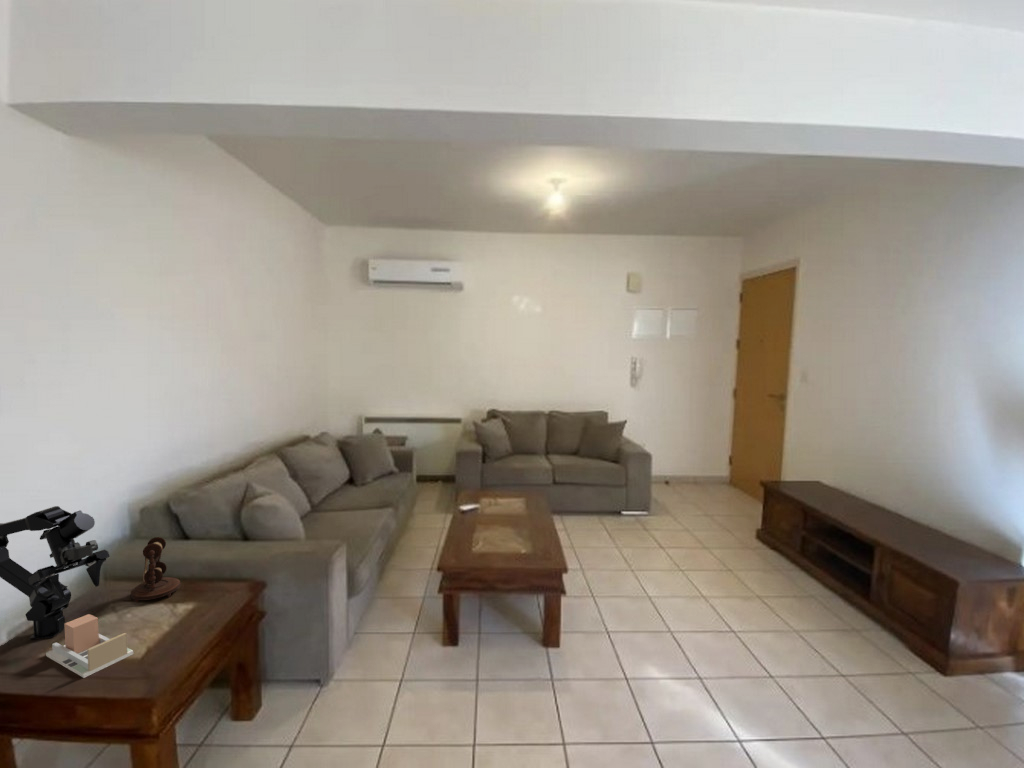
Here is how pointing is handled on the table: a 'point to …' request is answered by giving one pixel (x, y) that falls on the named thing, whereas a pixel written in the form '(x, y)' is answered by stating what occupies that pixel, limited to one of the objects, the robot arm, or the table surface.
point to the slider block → (81, 633)
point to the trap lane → (92, 655)
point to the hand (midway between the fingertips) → (81, 592)
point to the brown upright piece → (154, 574)
